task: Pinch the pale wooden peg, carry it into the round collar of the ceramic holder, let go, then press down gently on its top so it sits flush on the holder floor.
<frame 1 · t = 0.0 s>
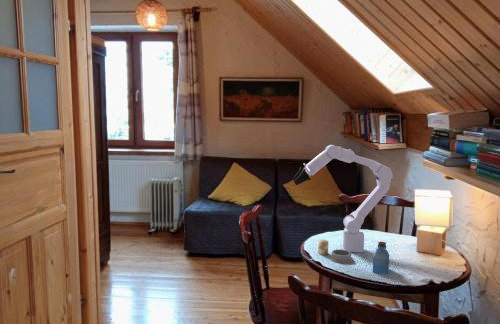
hand: (294, 182, 192), 32 cm above the table, tool tilted 50°, fingers open, 7 cm apart
bottle holder: (341, 259, 182), on the table
wooden peg: (323, 253, 190), on the table
blue corked bottle: (380, 271, 170), on the table
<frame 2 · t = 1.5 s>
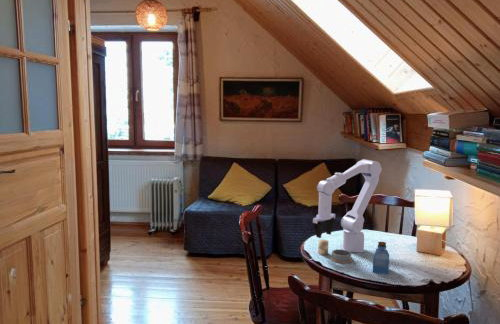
hand: (323, 235, 188), 8 cm above the table, tool pointing down, fingers open, 7 cm apart
nothing on the table moved.
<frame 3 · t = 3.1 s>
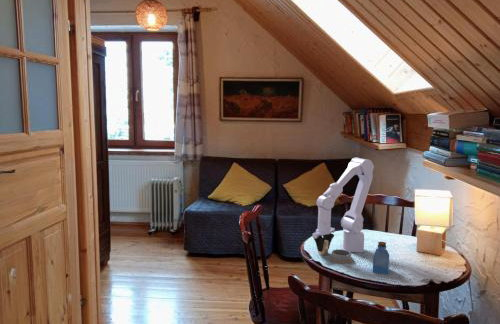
hand: (323, 250, 189), 2 cm above the table, tool pointing down, fingers closed on wooden peg, 4 cm apart
wooden peg: (323, 253, 190), on the table, touching gripper
everything else where it was.
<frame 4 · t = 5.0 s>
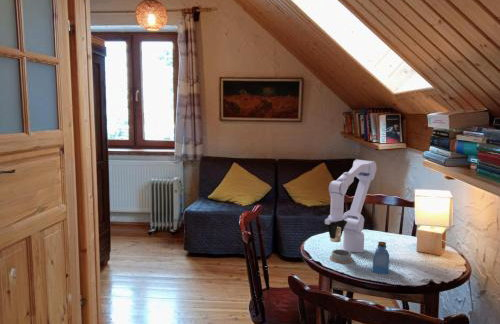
hand: (335, 237, 184), 9 cm above the table, tool pointing down, fingers closed on wooden peg, 4 cm apart
wooden peg: (335, 240, 184), point 8 cm above the table, touching gripper
everything else where it was.
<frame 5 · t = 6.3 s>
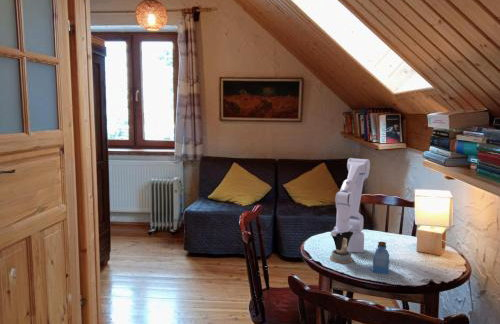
hand: (341, 248, 182), 5 cm above the table, tool pointing down, fingers closed on wooden peg, 4 cm apart
wooden peg: (341, 252, 182), point 3 cm above the table, touching gripper
everything else where it was.
when the fingers open (4 cm above the table, at t = 7.1 s): wooden peg drops 2 cm, resting on bottle holder.
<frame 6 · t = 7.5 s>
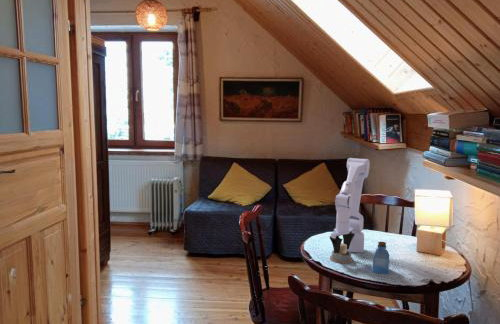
hand: (341, 250, 182), 4 cm above the table, tool pointing down, fingers open, 7 cm apart
wooden peg: (341, 257, 182), point 1 cm above the table, touching bottle holder
everything else where it was.
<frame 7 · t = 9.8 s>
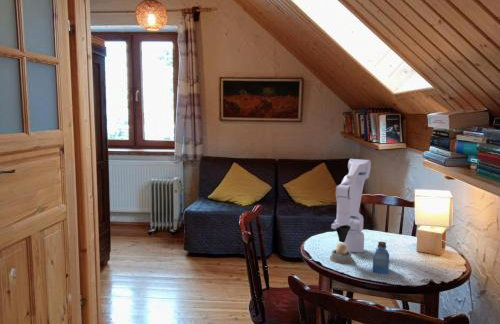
hand: (342, 241, 181), 8 cm above the table, tool pointing down, fingers closed
nothing on the table moved.
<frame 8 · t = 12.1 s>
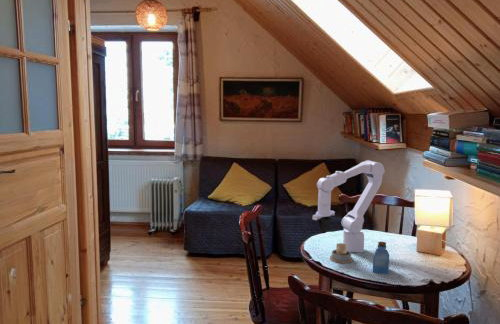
hand: (323, 232, 190), 9 cm above the table, tool pointing down, fingers closed
nothing on the table moved.
at the end: wooden peg 0.0 cm off-centre on the bottle holder, point 0.6 cm above the bottle holder's base; wooden peg tilted 0°; the gripper is holding nothing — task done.
